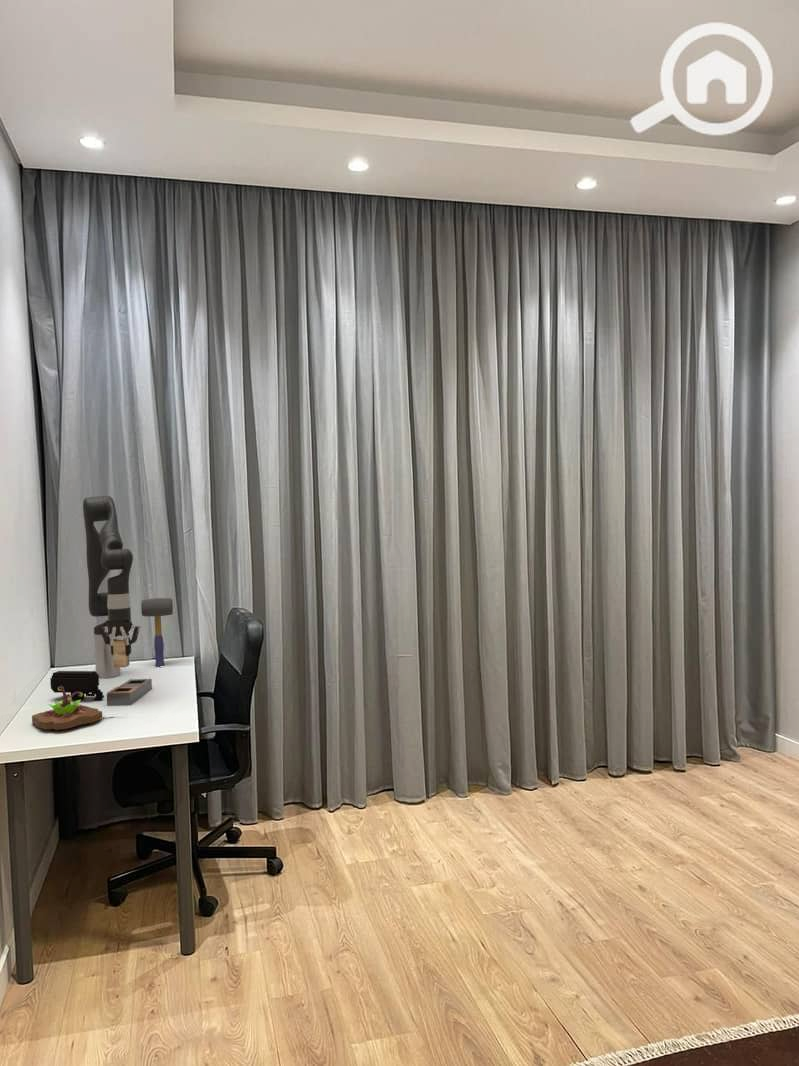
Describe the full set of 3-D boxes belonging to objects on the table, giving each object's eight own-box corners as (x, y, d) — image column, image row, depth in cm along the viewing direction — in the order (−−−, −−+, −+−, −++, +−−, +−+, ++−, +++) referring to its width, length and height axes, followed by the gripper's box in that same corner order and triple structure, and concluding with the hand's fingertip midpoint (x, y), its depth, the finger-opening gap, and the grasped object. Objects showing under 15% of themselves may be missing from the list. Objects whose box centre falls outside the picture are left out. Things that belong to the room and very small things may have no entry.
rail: (130, 690, 317) (130, 678, 317) (152, 689, 317) (151, 677, 316) (107, 705, 293) (106, 693, 293) (130, 705, 293) (129, 692, 292)
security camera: (97, 702, 298) (95, 674, 297) (49, 702, 301) (48, 674, 301) (107, 698, 305) (106, 670, 304) (60, 697, 308) (59, 670, 308)
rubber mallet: (176, 667, 358) (173, 596, 357) (175, 671, 350) (171, 598, 349) (145, 670, 355) (142, 598, 354) (143, 673, 348) (140, 600, 347)
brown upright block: (118, 665, 299) (117, 639, 299) (129, 665, 299) (128, 639, 299) (114, 667, 295) (112, 641, 295) (125, 667, 295) (124, 641, 295)
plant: (79, 710, 289) (78, 677, 289) (110, 718, 276) (109, 684, 276) (21, 723, 274) (19, 688, 274) (51, 732, 261) (49, 696, 261)
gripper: (142, 604, 300) (145, 653, 301) (102, 606, 300) (105, 654, 301) (135, 607, 293) (138, 657, 293) (94, 608, 293) (97, 658, 293)
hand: (121, 655), depth 297 cm, fingers closed on brown upright block, 4 cm apart
